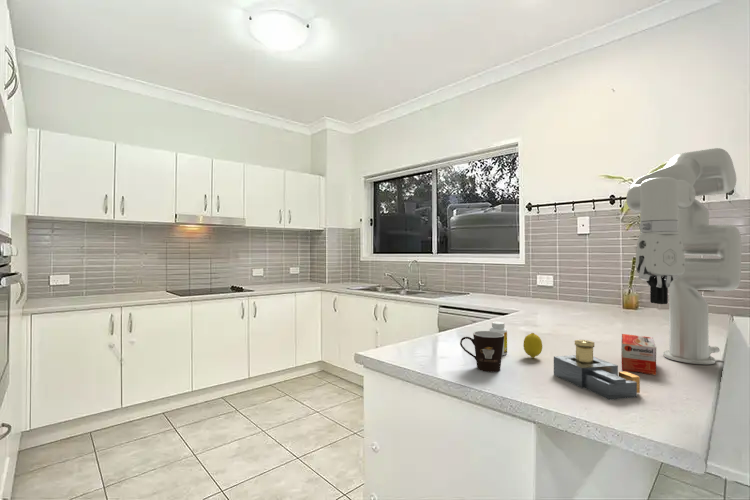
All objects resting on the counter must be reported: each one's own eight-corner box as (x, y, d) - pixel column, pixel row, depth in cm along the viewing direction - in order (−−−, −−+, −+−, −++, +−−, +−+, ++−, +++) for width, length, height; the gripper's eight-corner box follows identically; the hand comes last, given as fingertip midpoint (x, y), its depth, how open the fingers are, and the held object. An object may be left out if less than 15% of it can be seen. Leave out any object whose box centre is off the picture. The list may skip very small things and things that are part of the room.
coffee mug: (509, 368, 110) (509, 333, 110) (495, 375, 104) (495, 338, 104) (472, 360, 118) (472, 328, 118) (458, 366, 112) (458, 332, 112)
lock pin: (625, 387, 94) (625, 371, 94) (639, 392, 90) (639, 376, 90) (597, 389, 93) (597, 373, 93) (610, 395, 89) (610, 378, 89)
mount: (586, 372, 107) (586, 354, 107) (644, 396, 89) (644, 375, 89) (553, 374, 105) (553, 356, 105) (606, 400, 87) (606, 378, 87)
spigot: (585, 376, 103) (585, 339, 103) (598, 382, 99) (598, 343, 99) (570, 377, 102) (570, 340, 102) (582, 383, 98) (583, 344, 98)
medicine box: (657, 376, 104) (657, 347, 104) (621, 371, 108) (621, 343, 108) (652, 362, 117) (652, 336, 117) (621, 358, 121) (621, 333, 121)
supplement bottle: (502, 351, 129) (502, 320, 129) (510, 355, 124) (510, 324, 124) (486, 351, 128) (486, 321, 128) (494, 356, 123) (494, 324, 123)
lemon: (544, 361, 118) (544, 335, 118) (525, 360, 119) (525, 334, 119) (540, 356, 123) (540, 331, 123) (522, 355, 124) (522, 330, 124)
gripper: (647, 227, 89) (647, 306, 89) (699, 228, 92) (699, 304, 92) (620, 229, 96) (620, 302, 96) (669, 230, 99) (669, 300, 99)
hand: (658, 303), depth 94 cm, fingers closed
